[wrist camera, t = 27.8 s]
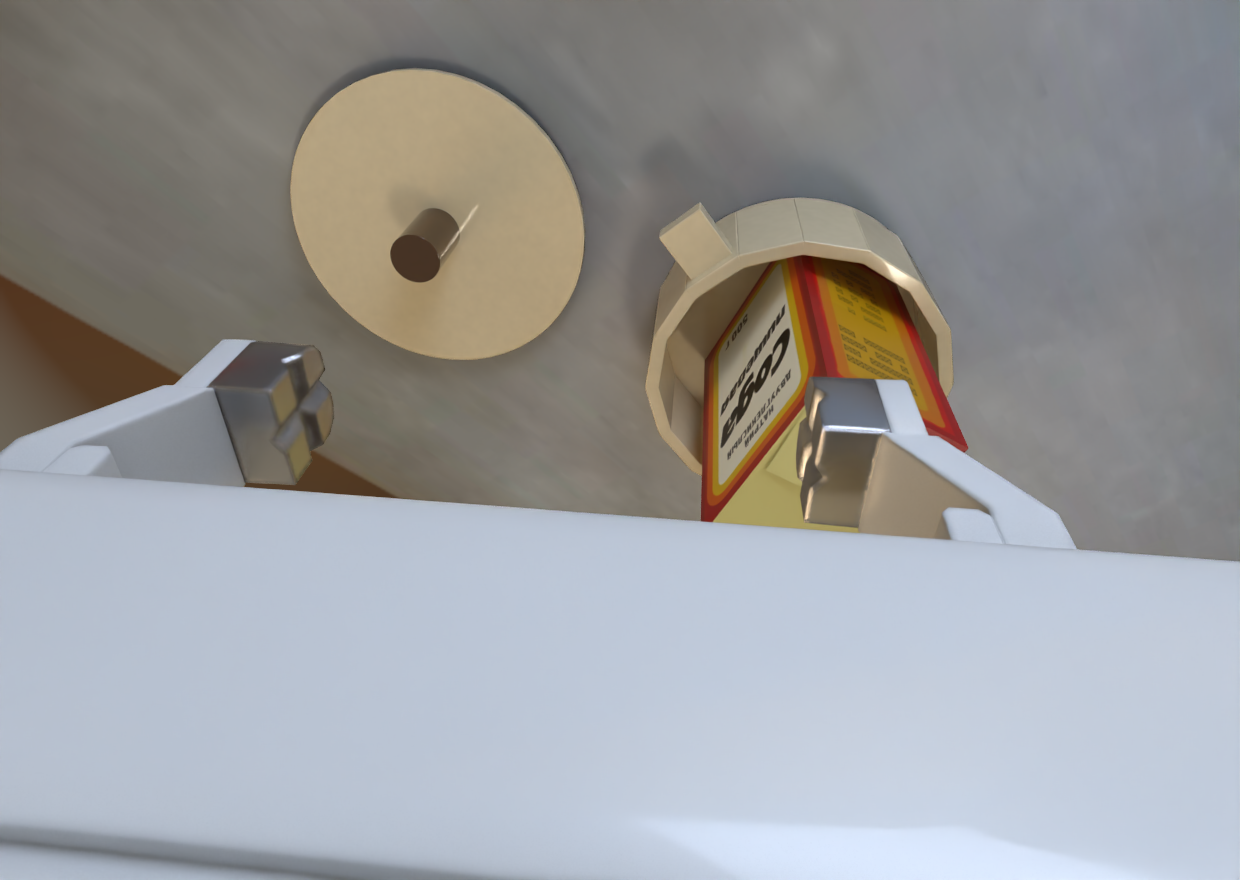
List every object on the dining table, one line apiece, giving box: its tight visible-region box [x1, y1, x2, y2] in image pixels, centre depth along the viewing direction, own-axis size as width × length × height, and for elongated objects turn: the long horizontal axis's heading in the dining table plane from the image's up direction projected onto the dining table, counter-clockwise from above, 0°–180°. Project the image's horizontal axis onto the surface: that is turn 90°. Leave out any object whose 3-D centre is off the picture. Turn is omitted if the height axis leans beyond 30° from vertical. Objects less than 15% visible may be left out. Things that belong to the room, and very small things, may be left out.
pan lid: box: [290, 68, 585, 360], centre depth 42 cm, size 16×16×5 cm
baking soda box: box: [701, 255, 968, 533], centre depth 39 cm, size 10×6×16 cm
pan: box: [645, 198, 954, 476], centre depth 44 cm, size 15×21×6 cm
